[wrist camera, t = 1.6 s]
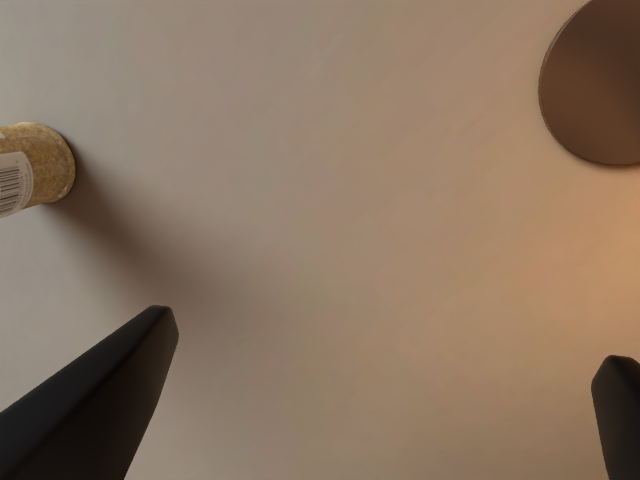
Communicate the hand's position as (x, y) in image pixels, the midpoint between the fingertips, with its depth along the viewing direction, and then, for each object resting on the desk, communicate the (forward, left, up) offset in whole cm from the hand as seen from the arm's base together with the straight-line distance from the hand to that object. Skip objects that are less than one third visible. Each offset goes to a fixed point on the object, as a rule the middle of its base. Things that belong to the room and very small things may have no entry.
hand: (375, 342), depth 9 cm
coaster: (+10, -7, -15) cm, 19 cm away
